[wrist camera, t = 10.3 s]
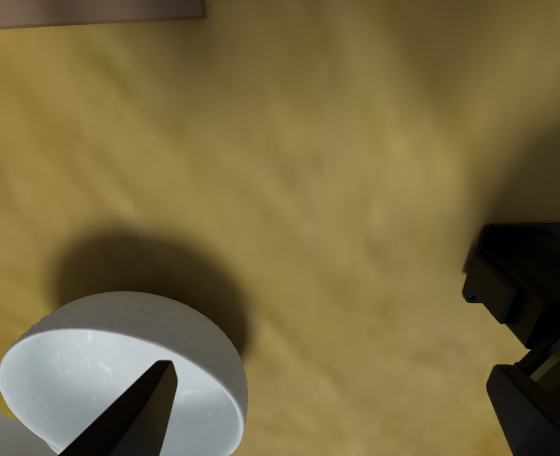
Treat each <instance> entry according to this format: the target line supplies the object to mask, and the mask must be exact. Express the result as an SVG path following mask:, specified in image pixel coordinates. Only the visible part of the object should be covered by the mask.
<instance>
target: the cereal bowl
mask: <svg viewBox="0 0 560 456" xmlns="http://www.w3.org/2000/svg"><path fill="white" fill-rule="evenodd" d="M158 360H171V361H172V362H173V364H174V367H175V370H176V374H177V377H178V386H177V390H176V394H175V398H174V403H173V407H172V411H171V415H170V419H169V423H168V427H167V431H166V435H165V439H164V442H163V446H162V449H161V452H160V455H159V456H229V455H230V454H231V453H233V451H234V450H235V449H236V448H237V447H238V445H239V443H240V442H241V440H242V437H243V434H244V430H245V424H246V415H247V404H248V396H247V395H248V389H247V380H246V372H245V370H244V366H243V363H242V361H241V359H240V356H239V354H238V353H237V350H236V348H235V347H234V345H233V344H232V342H231V341H230V339H229V338H228V337H227V336H226V334H225V333H224V332H223V331H222V330H221V329H220V328H219V327H218V326H217V325H216V324H214V323H213V322H212V321H211V320H210V319H208V318H207V317H206V316H205V315H203V314H201V313H200V312H199V311H196V310H195V309H192V308H191V307H189V306H187V305H186V304H182V303H181V302H178V301H176V300H173V299H169V298H167V297H164V296H159V295H155V294H151V293H143V292H130V291H116V292H105V293H101V294H94V295H91V296H86V297H83V298H81V299H77V300H74V301H72V302H71V303H68V304H65V305H63V306H62V307H61V308H59V309H57V310H54V311H53V312H51V313H50V314H49V315H47V316H45V317H43V318H42V319H41V320H40V321H39V322H38V323H37V324H35V325H33V326H32V327H31V328H30V329H29V330H28V331H27V332H26V333H24V334H23V335H22V336H21V337H20V338H19V339H18V340H17V341H16V342H14V343H13V344H12V345H11V347H10V348H9V349H8V351H7V352H6V354H5V355H4V357H3V359H2V361H1V364H0V391H1V393H2V395H3V398H4V399H5V401H6V403H7V405H8V407H9V408H10V409H11V411H12V412H13V413H14V415H15V416H16V417H17V418H18V419H19V420H20V421H21V422H22V423H23V424H24V425H25V426H26V427H27V428H29V429H30V430H31V431H32V432H34V433H35V434H36V435H38V436H39V437H40V438H42V439H44V440H45V441H47V442H48V443H50V444H51V445H53V446H55V447H57V448H59V449H60V450H62V451H63V450H64V449H65V448H66V447H67V446H68V445H69V444H70V443H71V442H72V441H73V440H75V439H76V438H77V437H78V436H79V435H80V434H81V433H82V432H83V431H84V430H85V429H86V428H87V427H88V426H89V425H90V424H91V423H92V422H93V421H94V420H95V419H96V418H97V417H98V416H100V415H101V414H102V413H103V412H104V411H105V410H106V409H107V408H108V407H109V406H110V405H111V404H112V403H113V402H114V401H115V400H116V399H117V398H118V397H119V396H120V395H121V394H122V393H123V392H125V391H126V390H127V389H128V388H129V387H130V386H131V385H132V384H133V383H134V382H135V381H136V380H137V379H138V378H139V377H140V376H141V375H142V374H143V373H144V372H145V371H146V370H147V369H148V368H150V367H151V366H152V365H153V364H154V363H155V362H156V361H158Z"/></svg>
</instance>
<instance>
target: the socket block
mask: <svg viewBox="0 0 560 456" xmlns="http://www.w3.org/2000/svg"><path fill="white" fill-rule="evenodd" d="M193 18H206V11H205V3H204V0H0V29H11V28H29V27H48V26H66V25H84V24H102V23H120V22H139V21H157V20H175V19H193Z"/></svg>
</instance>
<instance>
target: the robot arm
mask: <svg viewBox="0 0 560 456" xmlns="http://www.w3.org/2000/svg"><path fill="white" fill-rule="evenodd" d="M492 230H494V231H493V232H492V233H491V234H490V232H491V231H492ZM470 296H471V297H470ZM463 298H464V299H465V300H466V302H468V303H483V304H484V306H485V307H486V308H487V309H488V310H489V312H490V313H491V314H492V315H493V316H494V318H495V319H496V320H497V321H498V322H499V323H500V324H506V325H507V327H508V328H509V329H510V330H511V331H512V332H513V334H514V335H515V336H516V337H517V338H518V339H519V341H520V342H521V343H522V344H523V345H524V346H525V348H526V349H531V350H530V351H529V352H528V353H527V354H526V355H525V356H524V357H523V358H522V359H521V360H520V361H519V362H515V363H514V364H513V365H508V364H497V365H495V366H494V367H493V369H492V371H491V374H490V376H489V378H488V381H487V383H486V389H487V393H488V395H489V398H490V400H491V403H492V405H493V408H494V410H495V413H496V415H497V418H498V420H499V423H500V425H501V427H502V430H503V432H504V435H505V437H506V440H507V442H508V445H509V447H510V449H511V452H512V454H513V456H560V223H522V224H489V225H487V226H485V227H484V229H483V230H482V234H481V237H480V240H479V243H478V247H477V250H476V253H475V255H474V257H473V260H472V263H471V267H470V270H469V273H468V276H467V280H466V286H465V289H464V293H463ZM177 386H178V377H177V374H176V370H175V367H174V364H173V362H172V361H171V360H158V361H156V362H155V363H154V364H153V365H152V366H151V367H150V368H148V369H147V370H146V371H145V372H144V373H143V374H142V375H141V376H140V377H139V378H138V379H137V380H136V381H135V382H134V383H133V384H132V385H131V386H130V387H129V388H128V389H127V390H126V391H125V392H123V393H122V394H121V395H120V396H119V397H118V398H117V399H116V400H115V401H114V402H113V403H112V404H111V405H110V406H109V407H108V408H107V409H106V410H105V411H104V412H103V413H102V414H101V415H100V416H98V417H97V418H96V419H95V420H94V421H93V422H92V423H91V424H90V425H89V426H88V427H87V428H86V429H85V430H84V431H83V432H82V433H81V434H80V435H79V436H78V437H77V438H76V439H75V440H73V441H72V442H71V443H70V444H69V445H68V446H67V447H66V448H65V449H64V450H63V451H62V452H61V453H60V454H59V455H58V456H159V455H160V452H161V449H162V446H163V442H164V439H165V435H166V431H167V427H168V423H169V419H170V415H171V411H172V407H173V403H174V398H175V394H176V390H177Z"/></svg>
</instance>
